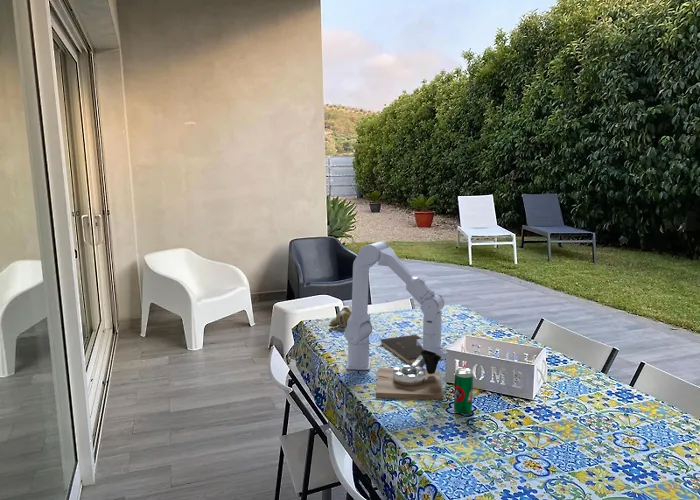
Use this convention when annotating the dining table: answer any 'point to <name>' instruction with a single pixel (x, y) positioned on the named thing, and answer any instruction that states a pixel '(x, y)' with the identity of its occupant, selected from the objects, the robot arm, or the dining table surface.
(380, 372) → the walnut board
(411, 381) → the silver mechanical part
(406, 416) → the dining table surface
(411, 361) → the hardcover book
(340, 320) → the ceramic sculpture
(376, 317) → the dining table surface
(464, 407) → the soda can
